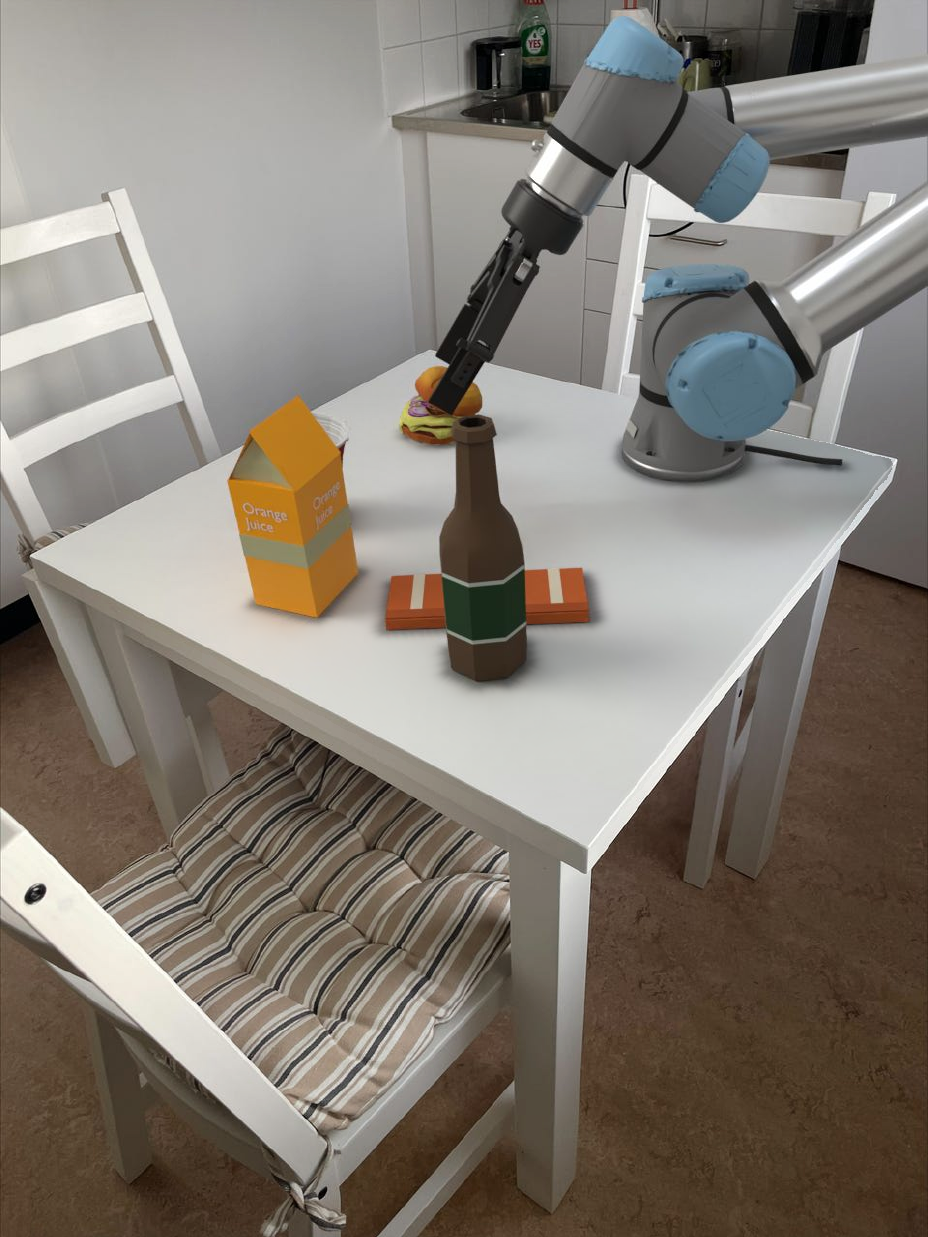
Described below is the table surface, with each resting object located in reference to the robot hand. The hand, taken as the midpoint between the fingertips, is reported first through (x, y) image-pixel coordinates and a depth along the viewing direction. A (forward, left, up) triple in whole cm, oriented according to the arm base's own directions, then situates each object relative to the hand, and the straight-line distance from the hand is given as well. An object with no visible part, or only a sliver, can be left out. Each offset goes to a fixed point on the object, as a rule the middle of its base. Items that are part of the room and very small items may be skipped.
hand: (442, 383), depth 100 cm
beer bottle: (-4, +26, -17) cm, 31 cm away
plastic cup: (+16, -1, -17) cm, 24 cm away
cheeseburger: (+2, -24, -17) cm, 30 cm away
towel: (-4, +17, -17) cm, 24 cm away
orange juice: (+15, +13, -17) cm, 26 cm away
